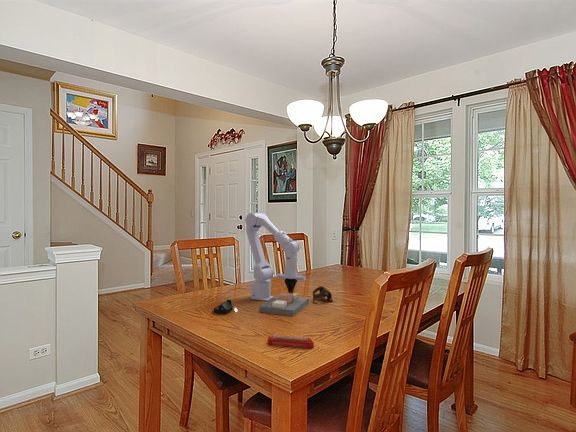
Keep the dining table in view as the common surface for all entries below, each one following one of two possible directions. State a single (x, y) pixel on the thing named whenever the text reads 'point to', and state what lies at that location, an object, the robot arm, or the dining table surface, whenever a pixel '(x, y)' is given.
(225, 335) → the dining table surface
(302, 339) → the candy bar
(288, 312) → the grey rectangular frame
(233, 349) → the dining table surface
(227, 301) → the black lumpy piece
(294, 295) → the sage key
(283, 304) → the cream key
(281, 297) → the terracotta key
